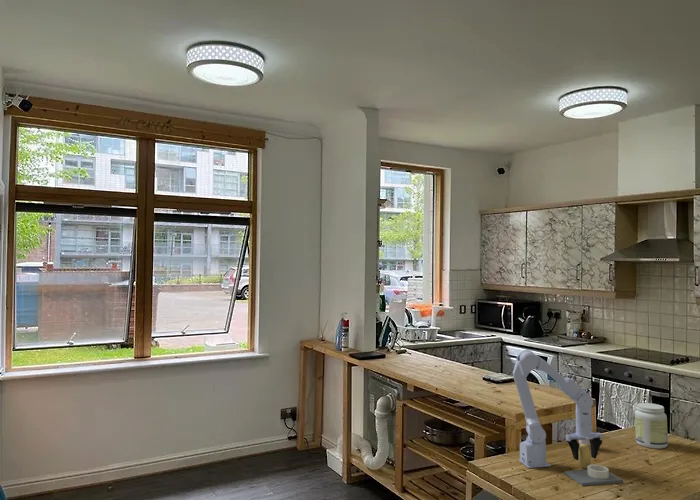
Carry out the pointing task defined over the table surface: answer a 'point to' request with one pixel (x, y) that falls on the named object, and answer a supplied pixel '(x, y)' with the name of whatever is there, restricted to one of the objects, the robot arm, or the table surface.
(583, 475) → the holder
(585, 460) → the peg
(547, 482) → the table surface
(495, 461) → the table surface
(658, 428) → the supplement tub
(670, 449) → the table surface
